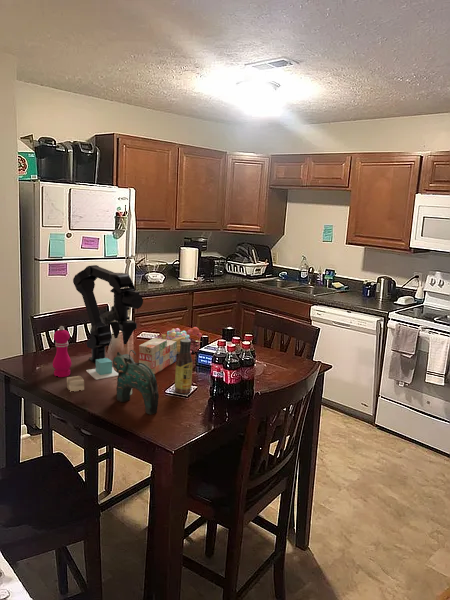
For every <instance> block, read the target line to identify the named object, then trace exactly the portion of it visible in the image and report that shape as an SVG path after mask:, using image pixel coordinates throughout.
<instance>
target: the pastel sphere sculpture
mask: <svg viewBox="0 0 450 600" xmlns="http://www.w3.org/2000/svg"><path fill="white" fill-rule="evenodd" d="M191 335H193V336H196V337H197V339H199V340H196V339H194V338H192V337H191ZM201 337H202V338H203V334H202V332H200V329H199V328H198V327H197V326H194V327H193V326H192V328H191V329H188V330H187V331H186V330H181V329H180V328H178V327H177V328H171V330H167V332H166V333H162V334H160V335H159V336H158V334H155V335H154V338H158V339H163V340H164V339H165V340H171V341H176V342H177V344H176V348H177V353H176V355H178V354H179V353H180V340H183V339H187V340H190V341H191V345H190V354H191V355H192V353H194V354H196V353H197V351H196V350H197V349H199V345H200V342H201V341H200V339H201ZM195 352H196V353H195Z"/></svg>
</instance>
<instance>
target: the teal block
mask: <svg viewBox="0 0 450 600" xmlns="http://www.w3.org/2000/svg"><path fill="white" fill-rule="evenodd" d="M112 367H113V360H111V359H110V358H108V357H105V358H103V359H96V363H95V369H96V372H97V373H98V374H100V375H104V374H110V373H112Z"/></svg>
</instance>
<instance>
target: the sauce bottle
mask: <svg viewBox="0 0 450 600" xmlns="http://www.w3.org/2000/svg"><path fill="white" fill-rule="evenodd" d="M190 345H191V341H190V340H187V339H183V340H180V353H179V354H177V355H176V361H175V375H174V391H175V392H176V393H179V394H188V393H190V392H191V388H192V380H193V365H194V363H193V359H192V353H191V354H190Z"/></svg>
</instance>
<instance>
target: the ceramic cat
mask: <svg viewBox="0 0 450 600" xmlns="http://www.w3.org/2000/svg"><path fill="white" fill-rule="evenodd" d="M131 352H132V353H133V354H134V355H135V356H136V355H137V354H136V351H134V350H133V349H130V350H129V353H126V354H125V353H124V354H122V353H120V352H119V351H117V353H116V356H115V357H114V358H113V359H112V367H113V368H114V370H115V371H116V372H117V373H118V376H117V378H116V401H118V402H120V403H125V402H128V401H130V400H131V395H130V392H131V389H132V390H133V389H136V390H137V391H138V392H140V394H141V395H142V399H143V404H144V410H145V413H146V414H147V415H149V416H150V415H154V414H156V413H158V406H159V400H160V399H159V397H160V394H159V388H158V382H157V379H156V376H155V374H153V372H152V371H151V370H150V368H149V367H148V366H146V365H145V364H143V363H139V362H135V360H134V359H133V357H132V356H131Z"/></svg>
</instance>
